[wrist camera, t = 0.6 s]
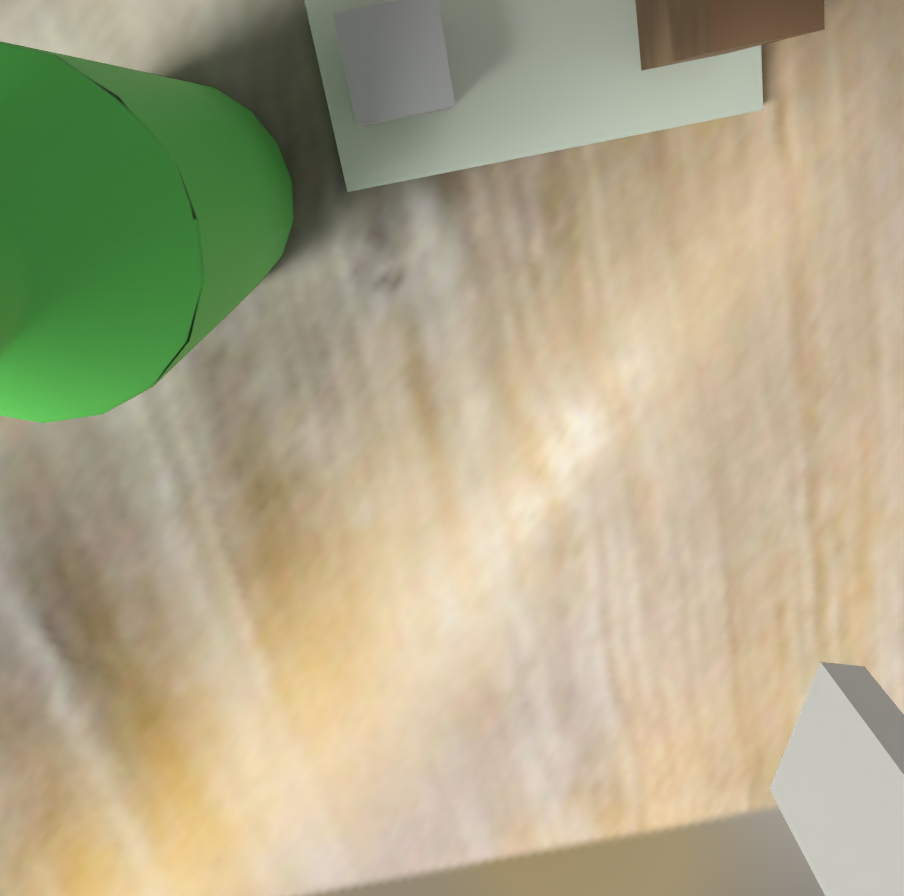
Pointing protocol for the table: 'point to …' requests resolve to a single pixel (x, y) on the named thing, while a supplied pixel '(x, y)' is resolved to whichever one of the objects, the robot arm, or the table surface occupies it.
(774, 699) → the table surface
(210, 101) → the bottle
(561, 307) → the table surface
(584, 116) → the rack
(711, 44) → the tall post
